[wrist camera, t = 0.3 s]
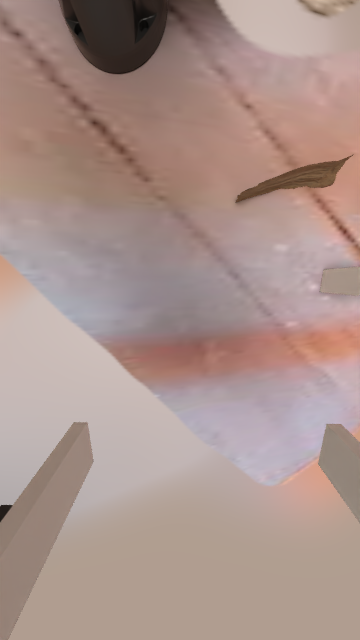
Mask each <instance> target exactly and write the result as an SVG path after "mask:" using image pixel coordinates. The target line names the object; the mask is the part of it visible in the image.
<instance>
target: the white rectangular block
mask: <svg viewBox="0 0 360 640" xmlns="http://www.w3.org/2000/svg"><path fill="white" fill-rule="evenodd" d="M320 292H322V293H333V294H344V295H355V296H360V267H350V268H338V269H326V270H323V276H322V282H321V287H320Z"/></svg>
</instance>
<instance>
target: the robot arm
mask: <svg viewBox="0 0 360 640" xmlns="http://www.w3.org/2000/svg"><path fill="white" fill-rule="evenodd" d="M59 3H60V7H61V10H62V13H63V16H64V19H65V21H66V24H67V26H68V28H69V30H70V32H71V34H72V36H73V38H74V40H75V43H76V45H77V46H78V48H79V50H80V51H81V53H82V54H83V55H84V56H85V58H86V59H87V60H88V61H89V62H91V63H92V64H93V65H94V66H96V67H98V68H99V69H101V70H104V71H107V72H111V73H124V72H128V71H131V70H133V69H136V68H137V67H139V66H140V65H142V64H143V63H144V62H145V61H147V60H148V59H149V57H150V56H151V55H152V54H153V52H154V51H155V49H156V48H157V46H158V44H159V42H160V40H161V37H162V35H163V32H164V28H165V24H166V18H167V0H59ZM92 463H93V455H92V449H91V442H90V436H89V429H88V423H86V422H85V423H84V422H83V423H81V422H78V423H77V422H74V423H73V424H72V426H71V427H70V428H69V430H68V431H67V433H66V434H65V435H64V437H63V438H62V439H61V441H60V442H59V443H58V445H57V446H56V448H55V449H54V450H53V452H52V453H51V454H50V456H49V457H48V458H47V460H46V461H45V462H44V464H43V465H42V467H41V468H40V469H39V471H38V472H37V473H36V475H35V476H34V477H33V479H32V480H31V482H30V483H29V484H28V486H27V487H26V488H25V490H24V491H23V493H22V494H21V495H20V496H19V498H18V499H17V501H16V502H15V503H14V504H13V505H1V506H0V640H8V639H9V637H10V635H11V632H12V630H13V628H14V626H15V624H16V622H17V620H18V618H19V616H20V614H21V611H22V610H23V607H24V605H25V603H26V601H27V599H28V597H29V595H30V593H31V591H32V588H33V586H34V584H35V582H36V580H37V578H38V576H39V574H40V572H41V570H42V568H43V566H44V563H45V561H46V559H47V557H48V555H49V553H50V551H51V549H52V547H53V545H54V543H55V541H56V539H57V536H58V534H59V532H60V530H61V528H62V526H63V524H64V522H65V520H66V518H67V516H68V513H69V511H70V509H71V507H72V505H73V503H74V501H75V499H76V497H77V495H78V493H79V491H80V489H81V486H82V484H83V482H84V480H85V478H86V476H87V474H88V472H89V470H90V468H91V466H92ZM318 465H319V466H320V467H321V469H322V470H323V472H324V473H325V474H326V476H327V477H328V479H329V480H330V481H331V483H332V484H333V486H334V487H335V489H336V490H337V491H338V493H339V494H340V496H341V497H342V498H343V500H344V501H345V503H346V504H347V506H348V507H349V508H350V510H351V511H352V513H353V514H354V516H355V517H356V518H357V520H358V521H359V522H360V442H359V441H358V440H357V439H356V438H355V437H354V436H353V435H352V434H351V433H350V432H349V431H348V430H347V429H345V428H344V427H343V426H342V425H341V424H326V429H325V434H324V438H323V443H322V448H321V452H320V457H319V462H318Z"/></svg>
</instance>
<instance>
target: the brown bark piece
mask: <svg viewBox="0 0 360 640" xmlns="http://www.w3.org/2000/svg"><path fill="white" fill-rule="evenodd" d="M352 156H353V155H352ZM350 157H351V156H349V157H347V158H345V159H342V160H339V161H332V162H323V163H318V164H312V165H307V166H304V167H301V168H298V169H295V170H292V171H289V172H287V173H285V174H282V175H280V176H277V177H275V178H272V179H269V180H267V181H264V182H262V183H259V184H258V185H257V186H256V187H253V188H250V189H247V190H245V191H243V192H242V193H241V194H240V195H238V199H237V200H236V202H239V201H242V200H245V199H247V198H251V197H254V196H258V195H262V194H266V193H269V192H271V191H274V190H277V189H292V188H293V189H295V188H297V187H303V186H308V187H314V188H315V187H321V188H323V187H327V186H330V185H332V184H333V183H334V181H335V178H336V174H337V172H338V171H339V170H340V169H341V167H342V166H343V164H344V163H345V161H346V160H348V159H349V158H350ZM236 202H235V203H236Z"/></svg>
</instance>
